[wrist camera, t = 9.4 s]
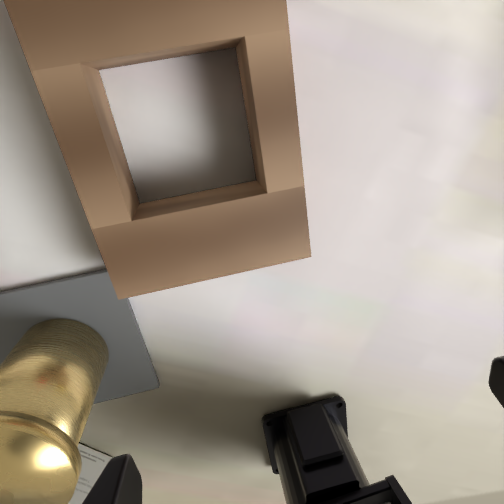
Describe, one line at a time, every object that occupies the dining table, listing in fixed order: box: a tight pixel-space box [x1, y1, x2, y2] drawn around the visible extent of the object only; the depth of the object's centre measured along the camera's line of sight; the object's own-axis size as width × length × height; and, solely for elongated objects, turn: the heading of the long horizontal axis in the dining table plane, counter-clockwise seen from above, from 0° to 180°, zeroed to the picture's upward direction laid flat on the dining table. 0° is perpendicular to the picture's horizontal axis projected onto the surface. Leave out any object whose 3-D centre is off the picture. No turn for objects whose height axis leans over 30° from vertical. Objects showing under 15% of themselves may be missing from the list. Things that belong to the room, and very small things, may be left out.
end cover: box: [0, 319, 109, 504], centre depth 17 cm, size 6×6×8 cm
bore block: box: [4, 0, 311, 300], centre depth 16 cm, size 14×10×3 cm
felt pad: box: [0, 269, 159, 404], centre depth 21 cm, size 9×9×1 cm
